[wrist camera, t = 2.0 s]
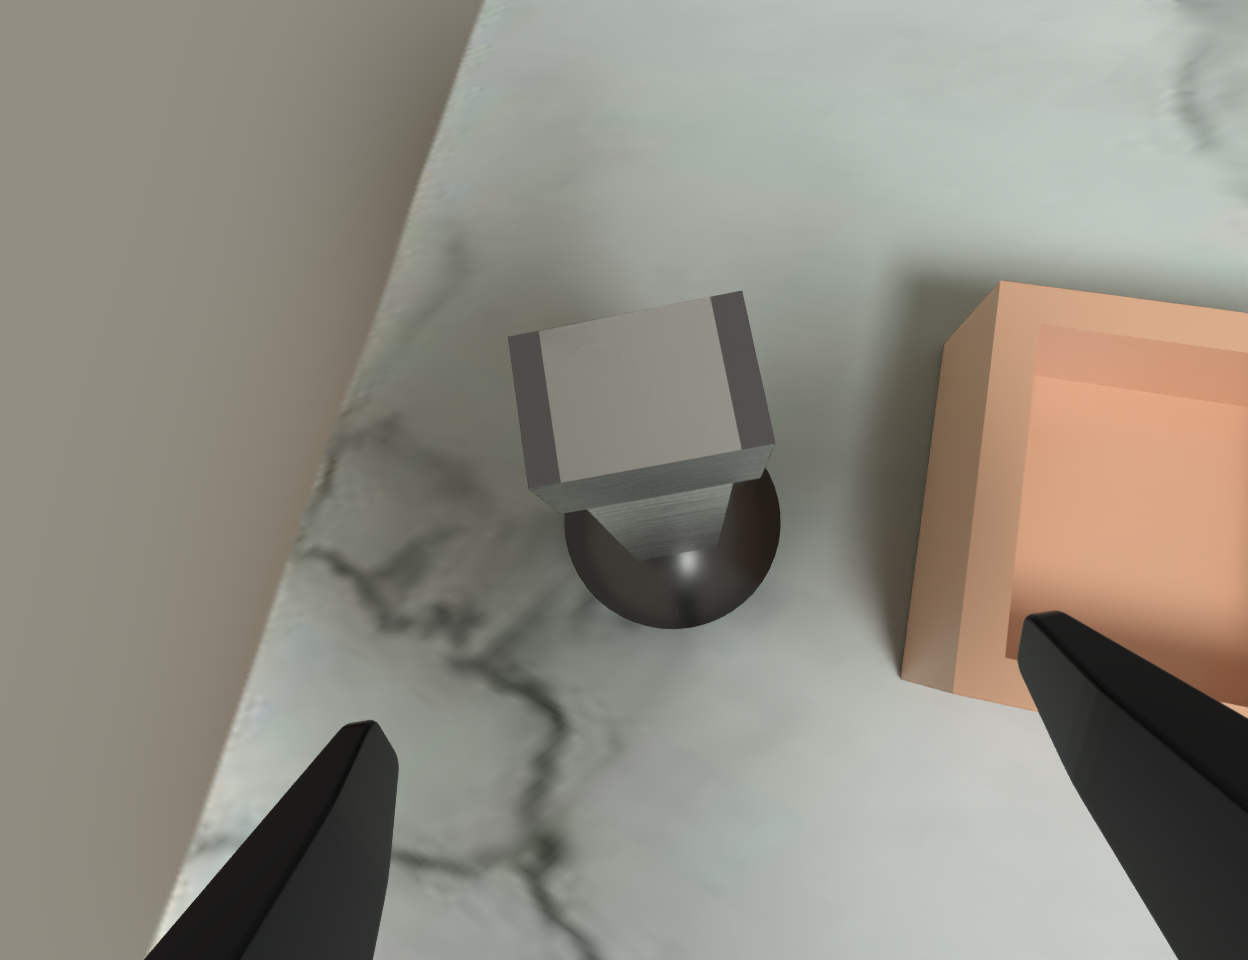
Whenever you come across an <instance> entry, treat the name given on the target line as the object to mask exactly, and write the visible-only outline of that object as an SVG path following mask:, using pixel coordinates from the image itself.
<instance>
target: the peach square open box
mask: <svg viewBox="0 0 1248 960" xmlns="http://www.w3.org/2000/svg"><path fill="white" fill-rule="evenodd" d="M1052 610H1058V611H1061V612H1064V613H1066V614H1068V615H1070V616H1072V617H1073V618H1075V619H1077V620H1079V621H1080V622H1082V623H1084V624H1086V625H1087V626H1089V627H1091V628H1093V629H1094V630H1096V631H1098V632H1099V633H1101V634H1103V635H1105V636H1106V637H1108V638H1110V639H1112V640H1113V641H1115V642H1117V643H1119V644H1120V645H1122V646H1124V647H1125V648H1127V649H1129V650H1131V651H1132V652H1134V653H1136V654H1138V655H1139V656H1141V657H1143V658H1145V659H1146V660H1148V661H1150V662H1151V663H1153V664H1155V665H1157V666H1158V667H1160V668H1162V669H1164V670H1165V671H1167V672H1169V673H1171V674H1172V675H1174V676H1176V677H1177V678H1179V679H1181V680H1183V681H1184V682H1186V683H1188V684H1190V685H1191V686H1193V687H1195V688H1197V689H1198V690H1200V691H1202V692H1203V693H1205V694H1207V695H1209V696H1210V697H1212V698H1214V699H1216V700H1217V701H1219V702H1221V703H1223V704H1224V705H1226V706H1228V707H1229V708H1231V709H1233V710H1235V711H1236V712H1238V713H1240V714H1242V715H1243V716H1245V717H1247V718H1248V313H1244V312H1236V311H1228V310H1221V309H1213V308H1206V307H1198V306H1190V305H1183V304H1175V303H1168V302H1160V301H1153V300H1145V299H1137V298H1130V297H1122V296H1115V295H1107V294H1099V293H1092V292H1084V291H1077V290H1069V289H1061V288H1054V287H1046V286H1039V285H1031V284H1024V283H1016V282H1008V281H1000V282H999V283H998V284H997V285H996V286H995V287H994V288H993V290H992V291H991V292H990V293H989V294H988V295H987V296H986V297H985V299H984V300H983V301H982V302H981V303H980V304H979V305H978V306H977V308H976V309H975V310H974V311H973V312H972V313H971V314H970V315H969V317H968V318H967V319H966V320H965V321H964V322H963V323H962V324H961V326H960V327H959V328H958V329H957V330H956V331H955V332H954V333H953V335H952V336H951V337H950V338H949V339H948V340H947V341H946V342H945V344H944V347H943V355H942V363H941V370H940V378H939V386H938V393H937V401H936V409H935V417H934V424H933V432H932V440H931V447H930V455H929V463H928V471H927V478H926V486H925V494H924V501H923V509H922V517H921V524H920V532H919V540H918V548H917V555H916V563H915V571H914V578H913V586H912V594H911V602H910V609H909V617H908V625H907V632H906V640H905V648H904V656H903V663H902V671H901V679H902V680H906V681H909V682H913V683H916V684H920V685H923V686H927V687H931V688H934V689H938V690H941V691H945V692H948V693H952V694H956V695H961V696H966V697H970V698H975V699H980V700H984V701H989V702H994V703H999V704H1003V705H1008V706H1013V707H1017V708H1022V709H1027V710H1031V711H1036V712H1038V710H1037V708H1036V705H1035V703H1034V701H1033V699H1032V697H1031V695H1030V693H1029V691H1028V688H1027V686H1026V684H1025V682H1024V680H1023V678H1022V675H1021V673H1020V670H1019V667H1018V662H1017V653H1018V648H1019V643H1020V637H1021V632H1022V626H1023V622H1024V619H1025V618H1026V617H1027V616H1028V615H1029V614H1033V613H1039V612H1045V611H1052Z"/></svg>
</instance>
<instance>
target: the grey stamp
mask: <svg viewBox="0 0 1248 960" xmlns="http://www.w3.org/2000/svg"><path fill="white" fill-rule="evenodd" d="M508 340H509V347H510V354H511V362H512V369H513V377H514V384H515V392H516V399H517V406H518V414H519V421H520V429H521V436H522V444H523V451H524V458H525V466H526V473H527V481H528V488H529V489H530V490H531V491H532V492H533V493H535V494H536V495H537V496H539V497H540V498H541V499H542V500H544V501H545V502H546V503H547V504H549V505H550V506H551V507H552V508H554V509H555V510H556V511H558V512H559V513H560V514H563V513H565V536H566V541H567V546H568V551H569V554H570V557H571V559H572V562H573V565H574V567H575V569H576V571H577V573H578V575H579V577H580V578H581V579H582V581H583V582H584V584H585V585H586V587H587V588H588V589H589V590H590V591H591V593H592V594H593V595H594V596H595V597H596V598H597V599H598V600H599V601H600V602H602V603H603V604H604V605H605V606H606V607H607V608H609V609H610V610H612V611H614V612H615V613H617V614H618V615H620V616H622V617H624V618H626V619H628V620H630V621H633V622H636V623H639V624H642V625H645V626H650V627H656V628H662V629H681V628H691V627H695V626H699V625H703V624H706V623H709V622H712V621H714V620H717V619H719V618H721V617H723V616H725V615H726V614H728V613H730V612H732V611H733V610H734V609H736V608H737V607H738V606H740V605H741V604H743V603H744V602H745V601H746V600H747V599H748V598H749V597H750V596H751V595H752V594H753V593H754V591H755V590H756V589H757V588H758V586H759V585H760V584H761V583H762V581H763V579H764V578H765V576H766V574H767V573H768V571H769V569H770V567H771V564H772V562H773V560H774V557H775V554H776V550H777V546H778V543H779V535H780V509H779V502H778V497H777V494H776V490H775V487H774V484H773V482H772V480H771V477H770V475H769V473H768V471H767V470H766V468H765V466H766V464H767V462H768V459H769V457H770V455H771V452H772V450H773V448H774V446H775V440H774V435H773V431H772V426H771V421H770V417H769V412H768V408H767V403H766V398H765V394H764V389H763V385H762V380H761V376H760V371H759V366H758V362H757V357H756V353H755V348H754V343H753V339H752V334H751V330H750V325H749V320H748V316H747V311H746V307H745V302H744V297H743V293H742V291H738V292H733V293H728V294H723V295H718V296H713V297H708V298H703V299H698V300H692V301H687V302H682V303H677V304H672V305H667V306H662V307H657V308H652V309H647V310H642V311H637V312H632V313H627V314H622V315H617V316H612V317H607V318H602V319H597V320H592V321H587V322H582V323H576V324H571V325H566V326H561V327H556V328H551V329H546V330H541V331H536V332H531V333H526V334H521V335H516V336H511V337H508Z"/></svg>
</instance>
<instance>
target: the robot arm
mask: <svg viewBox="0 0 1248 960" xmlns="http://www.w3.org/2000/svg"><path fill="white" fill-rule="evenodd" d="M1017 662H1018V667H1019V670H1020V673H1021V675H1022V678H1023V680H1024V682H1025V684H1026V686H1027V688H1028V691H1029V693H1030V695H1031V697H1032V699H1033V701H1034V703H1035V705H1036V708H1037V710H1038V712H1039V714H1040V716H1041V718H1042V720H1043V723H1044V725H1045V727H1046V729H1047V731H1048V733H1049V735H1050V738H1051V740H1052V742H1053V744H1054V746H1055V748H1056V750H1057V753H1058V755H1059V757H1060V759H1061V761H1062V763H1063V765H1064V767H1065V769H1066V771H1067V773H1068V775H1069V777H1070V779H1071V781H1072V783H1073V785H1074V787H1075V788H1076V790H1077V792H1078V794H1079V795H1080V797H1081V799H1082V801H1083V802H1084V804H1085V806H1086V807H1087V809H1088V811H1089V812H1090V814H1091V816H1092V817H1093V819H1094V821H1095V822H1096V824H1097V826H1098V827H1099V829H1100V830H1101V832H1102V834H1103V835H1104V837H1105V839H1106V840H1107V842H1108V844H1109V845H1110V847H1111V849H1112V850H1113V852H1114V854H1115V855H1116V857H1117V859H1118V860H1119V862H1120V864H1121V865H1122V867H1123V869H1124V870H1125V872H1126V874H1127V875H1128V877H1129V879H1130V880H1131V882H1132V884H1133V885H1134V887H1135V889H1136V890H1137V892H1138V894H1139V895H1140V897H1141V899H1142V900H1143V902H1144V904H1145V905H1146V907H1147V909H1148V910H1149V912H1150V914H1151V915H1152V917H1153V918H1154V920H1155V922H1156V923H1157V925H1158V927H1159V928H1160V930H1161V932H1162V933H1163V935H1164V937H1165V938H1166V940H1167V942H1168V943H1169V945H1170V947H1171V948H1172V950H1173V952H1174V953H1175V955H1176V957H1177V958H1178V960H1248V718H1247V717H1245V716H1243V715H1242V714H1240V713H1238V712H1236V711H1235V710H1233V709H1231V708H1229V707H1228V706H1226V705H1224V704H1223V703H1221V702H1219V701H1217V700H1216V699H1214V698H1212V697H1210V696H1209V695H1207V694H1205V693H1203V692H1202V691H1200V690H1198V689H1197V688H1195V687H1193V686H1191V685H1190V684H1188V683H1186V682H1184V681H1183V680H1181V679H1179V678H1177V677H1176V676H1174V675H1172V674H1171V673H1169V672H1167V671H1165V670H1164V669H1162V668H1160V667H1158V666H1157V665H1155V664H1153V663H1151V662H1150V661H1148V660H1146V659H1145V658H1143V657H1141V656H1139V655H1138V654H1136V653H1134V652H1132V651H1131V650H1129V649H1127V648H1125V647H1124V646H1122V645H1120V644H1119V643H1117V642H1115V641H1113V640H1112V639H1110V638H1108V637H1106V636H1105V635H1103V634H1101V633H1099V632H1098V631H1096V630H1094V629H1093V628H1091V627H1089V626H1087V625H1086V624H1084V623H1082V622H1080V621H1079V620H1077V619H1075V618H1073V617H1072V616H1070V615H1068V614H1066V613H1064V612H1061V611H1058V610H1052V611H1045V612H1039V613H1033V614H1029V615H1028V616H1027V617H1026V618H1025V619H1024V622H1023V626H1022V632H1021V637H1020V643H1019V648H1018V653H1017ZM398 771H399V765H398V758H397V755H396V753H395V751H394V749H393V747H392V746H391V744H390V742H389V741H388V739H387V737H386V736H385V734H384V732H383V731H382V729H381V727H380V726H379V724H378V723H377V722H375V721H373V720H366V721H360V722H354V723H349V724H347V725H345V726H343V727H342V728H341V729H340V730H339V731H338V732H337V734H336V735H335V736H334V737H333V738H332V739H331V741H330V742H329V743H328V744H327V745H326V747H325V748H324V749H323V750H322V751H321V752H320V754H319V755H318V756H317V757H316V758H315V759H314V761H313V762H312V763H311V764H310V765H309V766H308V768H307V769H306V770H305V771H304V772H303V774H302V775H301V776H300V777H299V778H298V779H297V781H296V782H295V783H294V784H293V785H292V786H291V788H290V789H289V790H288V791H287V792H286V793H285V795H284V796H283V797H282V798H281V799H280V801H279V802H278V803H277V804H276V805H275V806H274V808H273V809H272V810H271V811H270V812H269V813H268V815H267V816H266V817H265V818H264V819H263V820H262V822H261V823H260V824H259V825H258V826H257V827H256V829H255V830H254V831H253V832H252V833H251V835H250V836H249V837H248V838H247V839H246V840H245V842H244V843H243V844H242V845H241V846H240V847H239V849H238V850H237V851H236V852H235V853H234V854H233V856H232V857H231V858H230V859H229V860H228V862H227V863H226V864H225V865H224V866H223V867H222V869H221V870H220V871H219V872H218V873H217V874H216V876H215V877H214V878H213V879H212V880H211V881H210V883H209V884H208V885H207V886H206V887H205V889H204V890H203V891H202V892H201V893H200V894H199V896H198V897H197V898H196V899H195V900H194V901H193V903H192V904H191V905H190V906H189V907H188V908H187V910H186V911H185V912H184V913H183V914H182V916H181V917H180V918H179V919H178V920H177V921H176V923H175V924H174V925H173V926H172V927H171V928H170V930H169V931H168V932H167V933H166V934H165V935H164V937H163V938H162V939H161V940H160V941H159V943H158V944H157V945H156V946H155V947H154V948H153V950H152V951H151V952H150V953H149V954H148V955H147V957H146V958H145V959H144V960H373V956H374V951H375V946H376V941H377V936H378V931H379V926H380V921H381V915H382V910H383V905H384V900H385V895H386V889H387V883H388V876H389V868H390V859H391V848H392V837H393V826H394V815H395V804H396V794H397V783H398Z"/></svg>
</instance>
